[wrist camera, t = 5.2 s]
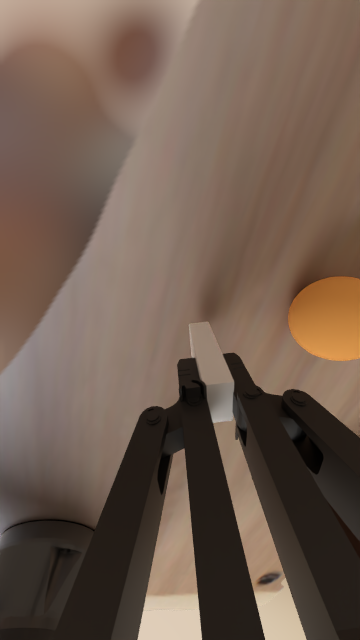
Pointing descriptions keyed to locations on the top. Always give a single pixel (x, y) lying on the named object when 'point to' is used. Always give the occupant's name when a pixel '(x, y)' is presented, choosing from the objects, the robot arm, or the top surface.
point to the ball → (328, 318)
